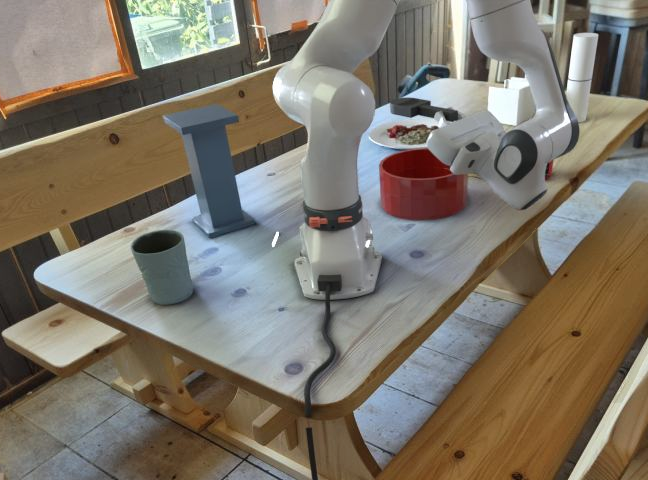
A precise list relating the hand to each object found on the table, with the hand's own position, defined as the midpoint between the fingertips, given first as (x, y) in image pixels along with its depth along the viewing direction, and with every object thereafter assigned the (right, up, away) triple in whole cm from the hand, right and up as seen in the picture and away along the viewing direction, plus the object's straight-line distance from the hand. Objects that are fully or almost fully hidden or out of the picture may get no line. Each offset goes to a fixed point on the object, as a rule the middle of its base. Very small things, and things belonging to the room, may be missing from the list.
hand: (441, 111), depth 134 cm
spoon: (-4, +1, +5) cm, 6 cm away
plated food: (-1, +14, +58) cm, 60 cm away
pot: (-2, -16, +17) cm, 23 cm away
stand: (-52, -22, +15) cm, 59 cm away
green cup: (-57, -42, -12) cm, 72 cm away
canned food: (+29, -7, +26) cm, 39 cm away
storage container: (+36, +27, +72) cm, 85 cm away
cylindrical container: (+52, +22, +63) cm, 84 cm away
